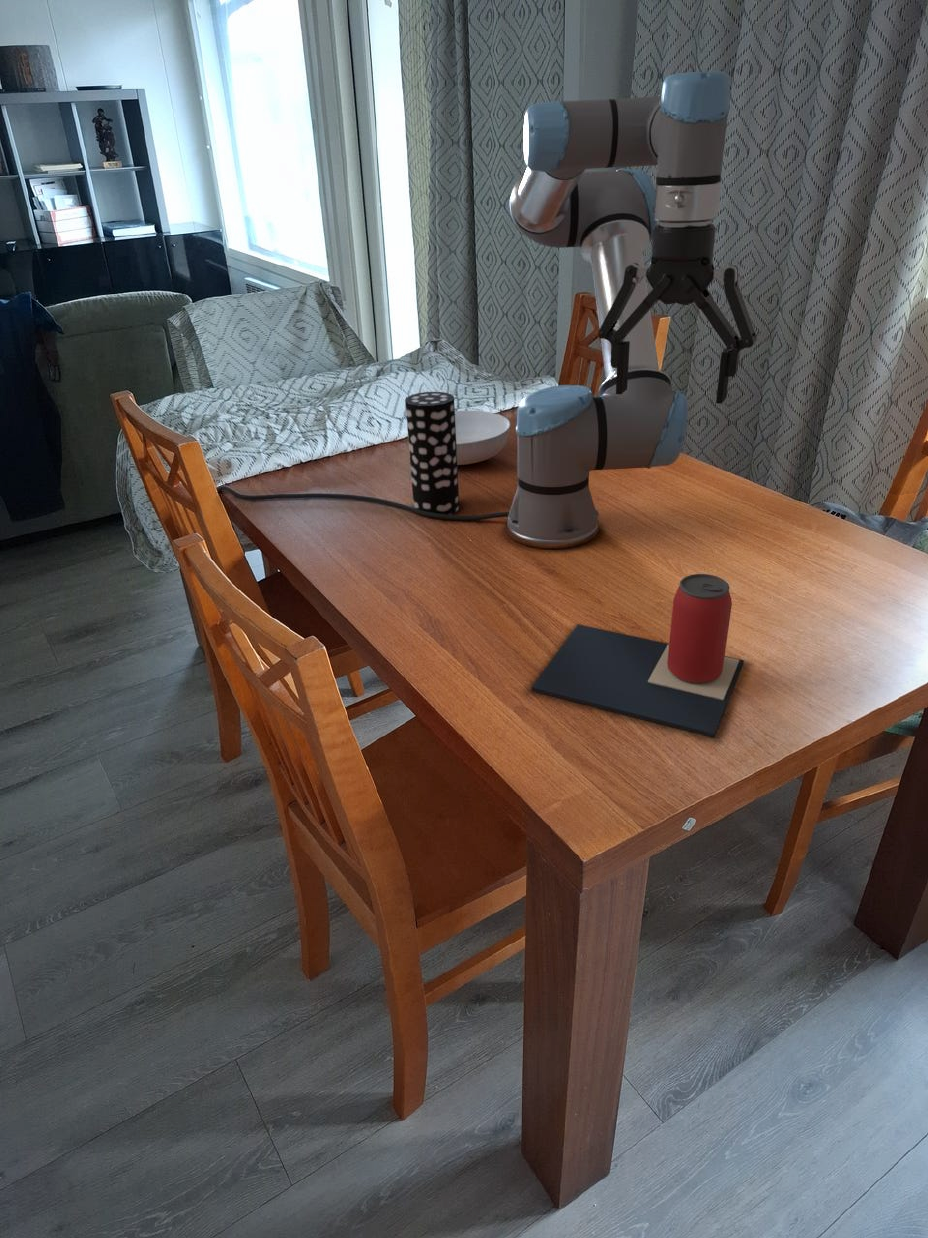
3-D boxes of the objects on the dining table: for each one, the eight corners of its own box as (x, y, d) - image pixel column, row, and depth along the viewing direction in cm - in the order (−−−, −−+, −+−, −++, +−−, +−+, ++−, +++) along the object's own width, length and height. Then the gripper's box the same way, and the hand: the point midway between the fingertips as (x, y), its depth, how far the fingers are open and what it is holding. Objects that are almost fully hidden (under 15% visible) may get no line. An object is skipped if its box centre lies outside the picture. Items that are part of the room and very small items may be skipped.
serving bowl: (408, 445, 180) (405, 414, 177) (503, 437, 182) (502, 406, 178) (413, 479, 162) (411, 446, 159) (518, 471, 164) (518, 437, 160)
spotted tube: (406, 514, 148) (396, 403, 138) (425, 496, 155) (417, 390, 144) (448, 519, 145) (442, 407, 135) (466, 501, 152) (461, 393, 141)
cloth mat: (531, 691, 100) (531, 685, 100) (577, 627, 112) (577, 622, 112) (714, 738, 91) (715, 732, 91) (743, 663, 103) (744, 658, 103)
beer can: (712, 692, 97) (724, 603, 91) (658, 676, 100) (666, 590, 94) (729, 664, 102) (741, 578, 96) (677, 650, 105) (686, 566, 99)
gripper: (577, 226, 103) (573, 395, 114) (786, 226, 93) (760, 412, 104) (597, 219, 109) (591, 381, 120) (796, 219, 98) (770, 396, 109)
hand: (669, 396), depth 112 cm, fingers open, 13 cm apart
